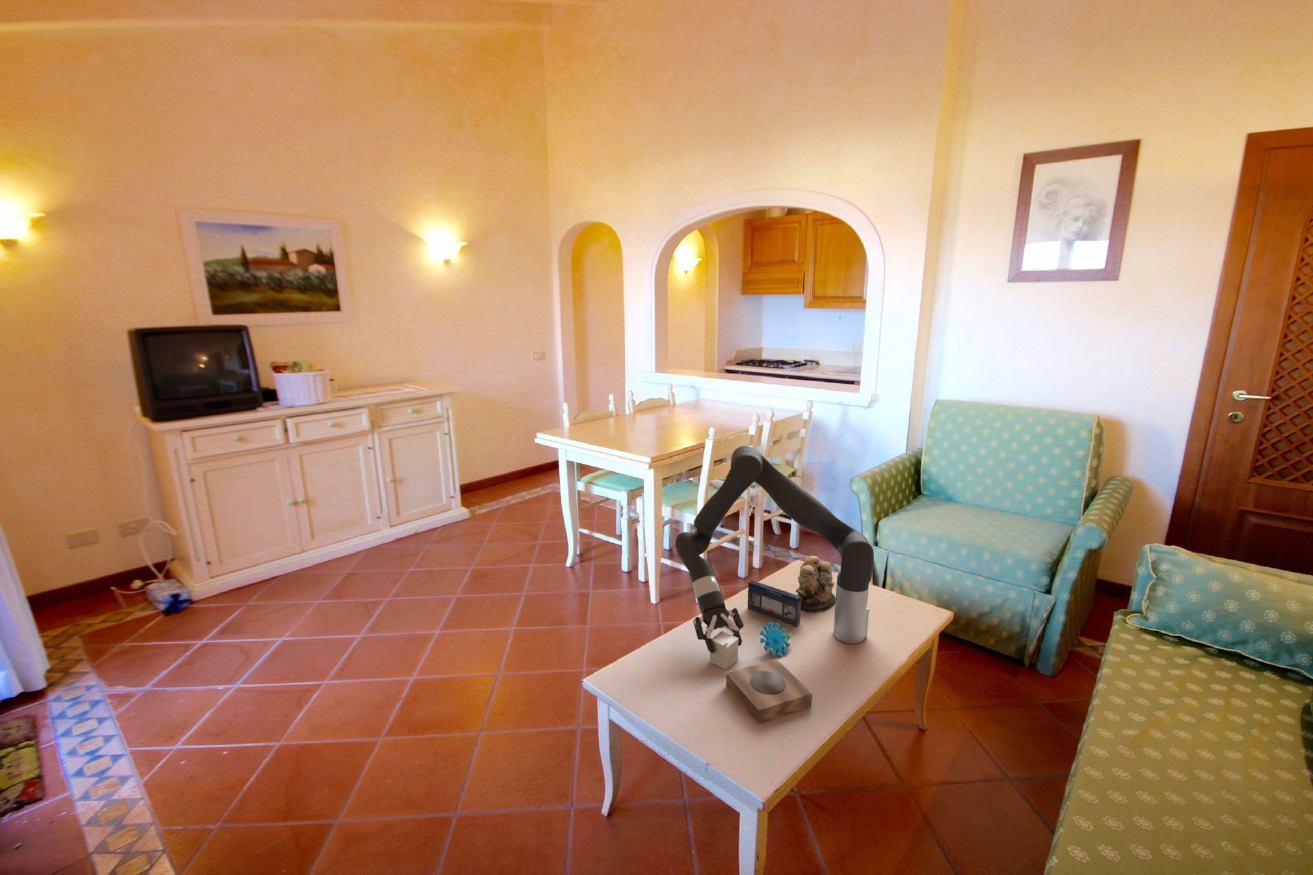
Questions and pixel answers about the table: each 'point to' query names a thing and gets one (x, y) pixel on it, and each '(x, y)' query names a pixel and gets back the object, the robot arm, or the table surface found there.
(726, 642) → the skincare box
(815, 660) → the table surface
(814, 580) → the owl figurine
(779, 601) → the vhs cassette tape
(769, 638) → the gear
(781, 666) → the platform
